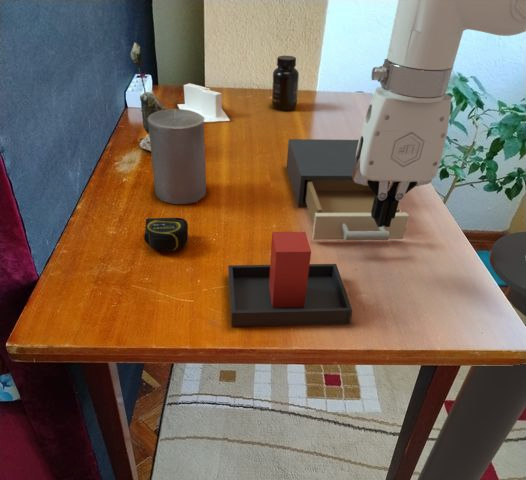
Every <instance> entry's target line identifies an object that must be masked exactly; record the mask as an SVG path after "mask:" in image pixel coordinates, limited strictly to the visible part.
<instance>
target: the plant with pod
mask: <svg viewBox="0 0 526 480" xmlns="http://www.w3.org/2000/svg"><path fill="white" fill-rule="evenodd" d="M130 58H131V60H132V62H133V63H134V64H135V65H136V66H137V68H138V71H139V75H140V79H141V83H142V87H143V93H142V94H140V96H139V100H140V107H141V109H140V112H141V118H142V127H143V130H144V131H145V132H146V133H147V134H145V137H142V138H140V139H139V144H138V145H139V146H138V147H139V148H141V149H144V150H145V151H149V152H151V145H150V136H149V127H148V116H149V115H151V114H152V113H154V112H157V111H161V110H167V108H165V106H164V104H163V102H162V101H161V100H160V99H159V97H158V96H157V95H156V94H155V93H153V92H150V91H146V87H145V83H144V79H143V75H142V68H141V65H142V64H143V57H142V50H141V45H140V44H139V43H138V42H133V46H132V48H131V51H130Z"/></svg>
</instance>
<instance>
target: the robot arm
mask: <svg viewBox="0 0 526 480" xmlns="http://www.w3.org/2000/svg"><path fill="white" fill-rule="evenodd" d="M395 9H396V11H395V14H394V20H393V26H392V31H391V36H390V39H389V45H388V50H387V55H386V58H384V60H383V64H382V65H379V66H377V67H376V66H374V67H373V68H372V70H371V81H377V82H378V83H379V84H380V86H377V87H376V88H375V89H374V91H373V94H372V97H371V100H370V102H369V104H368V108H367V111H366V113H365V116H364V119H363V123H362V127H361V130H360V134H359V138H358V140H359V142H358V147H357V152H356V160H355V161H356V166H355V169H354V171H353V173H352V179H353V181H354V182H355V183H358V184H361V185H365V186H366V185H367V186H369V187H370V188H371V189H372V191H373V192H374V193H375V197H374V202H373V206H372V211H371V216H372V218H374V220H375V222H376V224H377V226H378V227H382V226H385V227H390V224H391V220H392V219H394V218H395V214H396V210H397V207H399V202H400V201H402V200H403V199H404V198H405V195H406V194H407V193H409V192H411V190H412V189H414V188H415V187H420V186H425V185H429V184H430V183H432V180H433V179H434V178H435V177H436V176H437V174H438V172H439V168H440V166H441V162H442V158H443V154H444V149H445V145H446V141H447V135H448V130H449V129H448V128H449V123H450V116H451V109H452V108H451V107H452V96H451V95H449V94H448V93H447V91H448V86H449V83H450V80H451V75H452V72H453V68H454V65H455V61H456V58H457V54H458V51H459V48H460V43H461V40H462V37H463V33H464V32H465V31H467V30H471V31H476V32H482V33H486V34H490V35H494V36H500V37H511V36H515V35H520V34H523V33H526V0H397V5H396V8H395ZM388 181H390V185H389V188H388ZM387 190H388V191H387ZM525 257H526V256H525Z"/></svg>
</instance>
